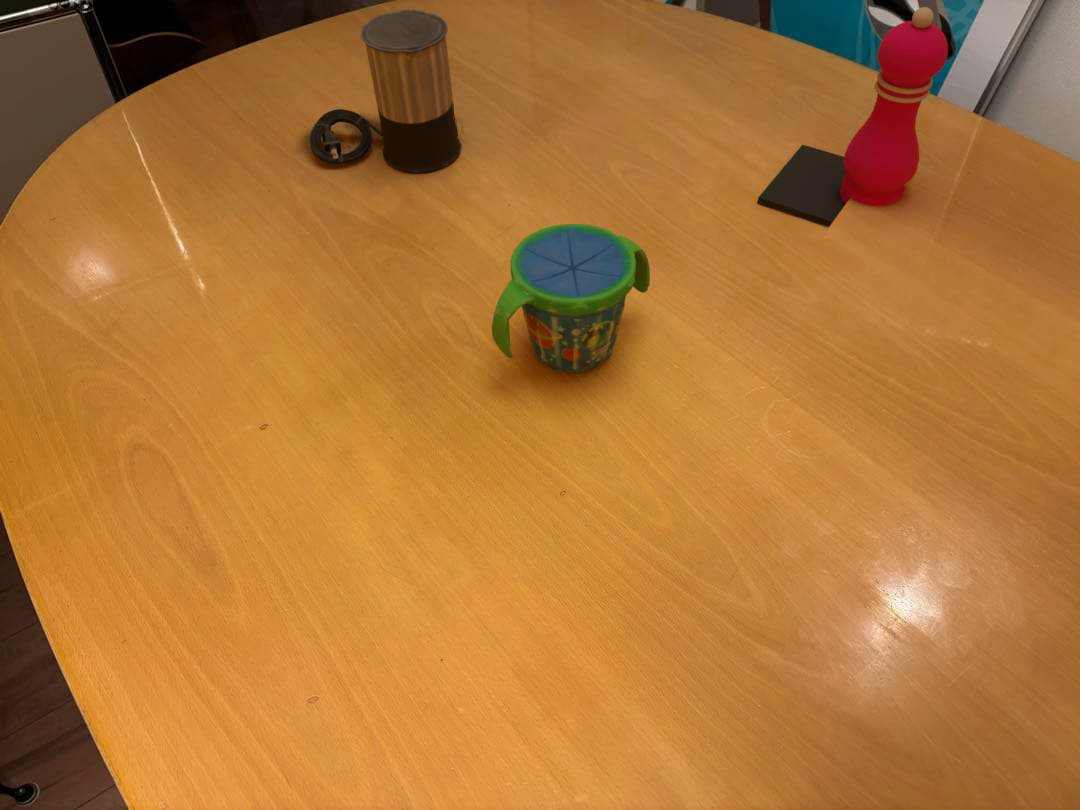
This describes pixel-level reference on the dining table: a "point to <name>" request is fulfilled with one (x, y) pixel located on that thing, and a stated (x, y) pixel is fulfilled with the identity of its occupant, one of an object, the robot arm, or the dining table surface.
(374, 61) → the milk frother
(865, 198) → the pepper mill
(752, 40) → the dining table surface
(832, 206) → the mat
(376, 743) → the dining table surface
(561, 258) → the snack cup
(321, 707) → the dining table surface
